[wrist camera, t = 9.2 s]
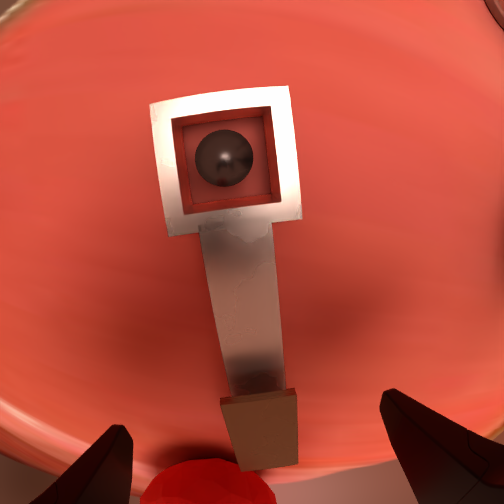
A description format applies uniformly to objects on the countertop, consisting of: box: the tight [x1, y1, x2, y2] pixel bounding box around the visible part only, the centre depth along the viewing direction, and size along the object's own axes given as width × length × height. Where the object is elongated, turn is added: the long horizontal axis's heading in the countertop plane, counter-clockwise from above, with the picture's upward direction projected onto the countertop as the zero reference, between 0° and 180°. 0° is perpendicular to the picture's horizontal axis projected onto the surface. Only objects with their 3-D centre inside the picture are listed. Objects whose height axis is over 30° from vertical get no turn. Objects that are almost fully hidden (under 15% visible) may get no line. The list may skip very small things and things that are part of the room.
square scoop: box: [150, 86, 302, 397], centre depth 14 cm, size 16×6×3 cm, turn 7°
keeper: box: [220, 388, 298, 472], centre depth 16 cm, size 7×4×5 cm, turn 7°
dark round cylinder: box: [195, 130, 253, 187], centre depth 12 cm, size 2×2×4 cm
